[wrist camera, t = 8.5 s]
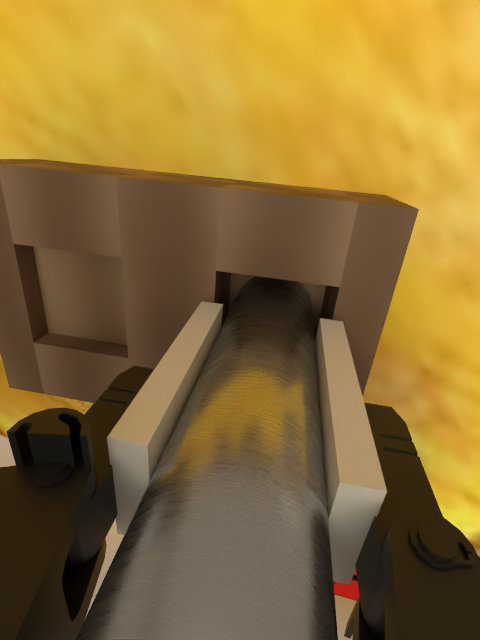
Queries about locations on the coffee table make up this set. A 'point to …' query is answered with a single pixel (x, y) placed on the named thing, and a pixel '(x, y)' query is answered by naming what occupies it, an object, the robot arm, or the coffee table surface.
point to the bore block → (173, 264)
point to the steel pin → (234, 496)
